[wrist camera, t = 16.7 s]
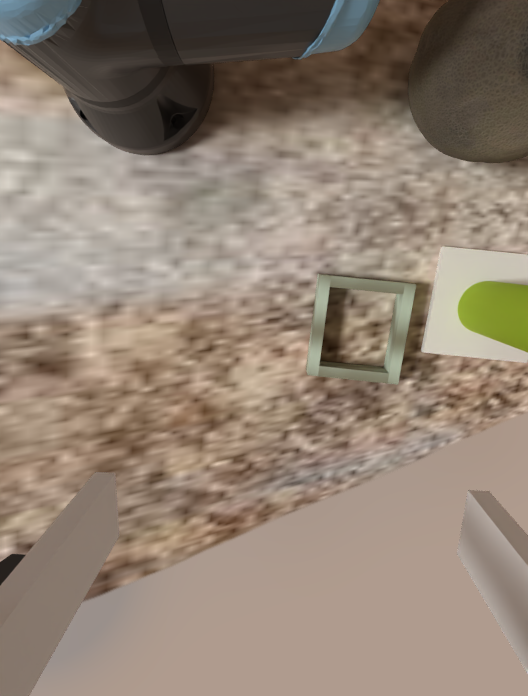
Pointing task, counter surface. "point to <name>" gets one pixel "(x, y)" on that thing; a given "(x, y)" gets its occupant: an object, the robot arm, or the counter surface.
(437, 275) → the mat
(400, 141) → the counter surface
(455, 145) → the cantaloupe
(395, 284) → the frame
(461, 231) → the counter surface
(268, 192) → the counter surface
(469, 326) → the soap dispenser
